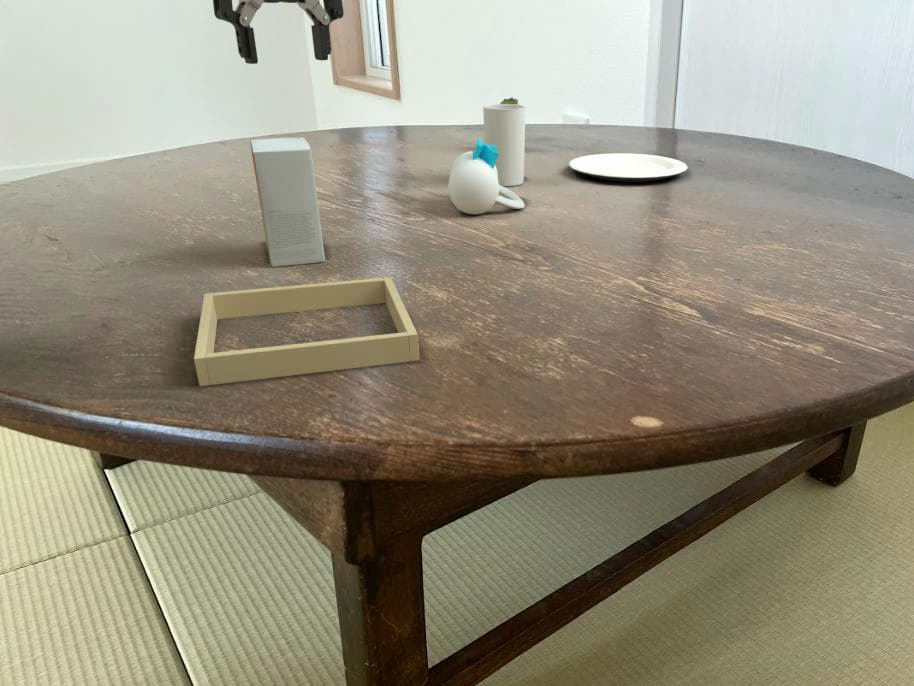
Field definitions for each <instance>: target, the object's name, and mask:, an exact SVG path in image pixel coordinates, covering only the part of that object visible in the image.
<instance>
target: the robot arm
mask: <svg viewBox="0 0 914 686" xmlns="http://www.w3.org/2000/svg"><path fill="white" fill-rule="evenodd" d="M278 3H284V4H285V3H286V4H287V3H288V4H297V5H298V7H299V8H300V9H302V10H303V11H304V13H305V14H306V15H307V16H308V18H309V19H310V21H311V22H312V23H313V24H311V25H310V27H311V37H312V45H313V54H314V58H315V60H317V61H328V59H329V56H330V55H332V54H331V53H332V43H331V42H332V41H331V34H330V33H331V31H330V25H331V23H332V22H334V21H336V20H338V19H339V20H340V19H342V18H343V17H344V15H345V12H344V6H343V0H322V3H323V6H322V5H321V3H320V0H238V4H237V5H236V7H235V9H234V8H233V7H234V6H233V0H212V6H213V14H214V17H215V18H216V19H217V20H220V21H224V22H226V23H229V24H231V25H232V27H234V31H235V37H236V44H237V51H238V54H239V57H240V58H242V59H244V62H245V64H248V65H253V64H254V65H256V64H258V62H259V60H258V51H257V45H256V38H255V30H254V27H251V23H252V20H253V19H254V17H255V15H256V14H257V11H258V10H260V8H261V7H262V5H263V4H278Z"/></svg>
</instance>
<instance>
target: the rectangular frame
mask: <svg viewBox="0 0 914 686" xmlns="http://www.w3.org/2000/svg"><path fill="white" fill-rule="evenodd" d="M203 294H204V295H203V300H202V305H201V311H200V318H199V324H198V330H197V338H196V343H195V348H194V349H195V350H194V355H193V361H194V367H195V371H196V376H197V381H198V386H199V387H204V386H214V385H221V384H232V383H239V382H246V381H247V382H248V381H255V380H257V381H258V380H264V379H265V380H266V379H272V378H274V379H275V378H282V377H291V376H299V375H306V374H317V373H323V372H324V373H325V372H332V371H340V370H349V369H358V368H365V367H374V366H383V365H391V364H399V363H408V362H418V361H420V347H419V334H418V332H417V330H416V328H415V326H414V323H413V321H412V319H411V317H410V315H409V313H408V311H407V308H406V306H405V305H404V302H403V301H402V298H401V296H400V294H399V292H398V289H397V287H396V285H395V283H394V281H393V279H392V276H387V277H386V276H385V277H376V278H375V277H374V278H366V279H365V278H363V279H354V280H353V279H352V280H343V281H330V282H320V283H319V282H318V283H308V284H297V285H287V286H286V285H285V286H276V287H263V288H252V289H241V290H231V291H230V290H229V291H219V292H208V293H203ZM378 304H379V305H380V304H386V307H387V309H388V312H389V313H390V316H391V319H392V321H393V323H394V326H395V328H396V331H397V332H396V333H394V332H393V333H387V334H377V335H367V336H357V337H347V338H341V339H340V338H338V339H330V340H321V341H309V342H302V343H293V344H283V345H274V346H273V345H272V346H266V347H255V348H246V349H237V350H229V351H227V350H226V351H217V352H215V343H216V336H217V335H216V334H217V325H218V320H226V319H234V318H245V317H254V316H255V317H257V316H266V315H276V314H285V313H287V314H288V313H296V312H297V313H298V312H306V311H308V312H309V311H317V310H326V309H336V308H337V309H338V308H339V309H340V308H347V307H348V308H349V307H358V306H367V305H378Z"/></svg>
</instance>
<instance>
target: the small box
mask: <svg viewBox="0 0 914 686" xmlns="http://www.w3.org/2000/svg"><path fill="white" fill-rule="evenodd" d="M249 142H250V151H251V158H252V163H253V169H254V175H255V183H256V188H257V193H258V200H259V201H258V202H259V205H260V212H261V219H262V224H263V232H264V238H265V245H266V247H267V248H266V249H267V252H268V257H269V264H270V266H271V267H272V268H276V267H285V266H286V267H287V266H297V265H307V264H318V263H324V262H326V256H325V249H324V240H323V232H322V226H321V218H320V217H321V216H320V208H319V200H318V193H317V185H316V179H315V178H316V177H315V171H314V162H313V155H312V149H311V146H310V144H309V142H308V141H307V140H306V138H305V137H276V138H274V137H273V138H262V139H261V138H260V139H251V140H249Z"/></svg>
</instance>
